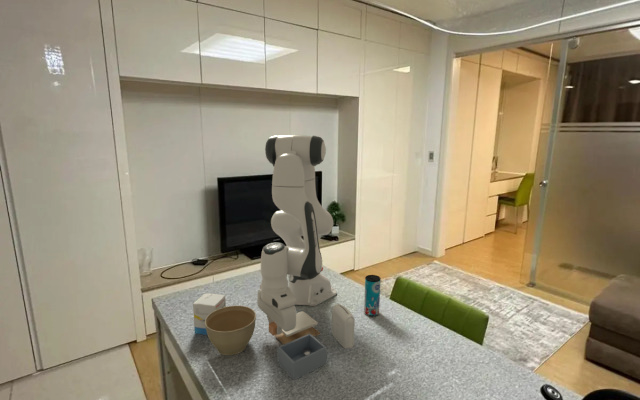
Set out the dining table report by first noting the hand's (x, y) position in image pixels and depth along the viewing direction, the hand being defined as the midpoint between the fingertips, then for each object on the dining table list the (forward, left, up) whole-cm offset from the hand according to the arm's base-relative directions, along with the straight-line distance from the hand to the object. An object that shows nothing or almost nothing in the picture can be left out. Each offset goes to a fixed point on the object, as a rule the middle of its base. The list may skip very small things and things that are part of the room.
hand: (275, 330), depth 113 cm
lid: (-6, 0, -2) cm, 6 cm away
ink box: (+15, -21, -5) cm, 26 cm away
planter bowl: (+13, -6, -5) cm, 15 cm away
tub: (-1, +15, -5) cm, 15 cm away
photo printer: (-19, +13, -5) cm, 23 cm away
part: (-4, +13, -4) cm, 14 cm away
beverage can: (-40, +6, -5) cm, 41 cm away
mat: (-8, 0, -5) cm, 9 cm away
